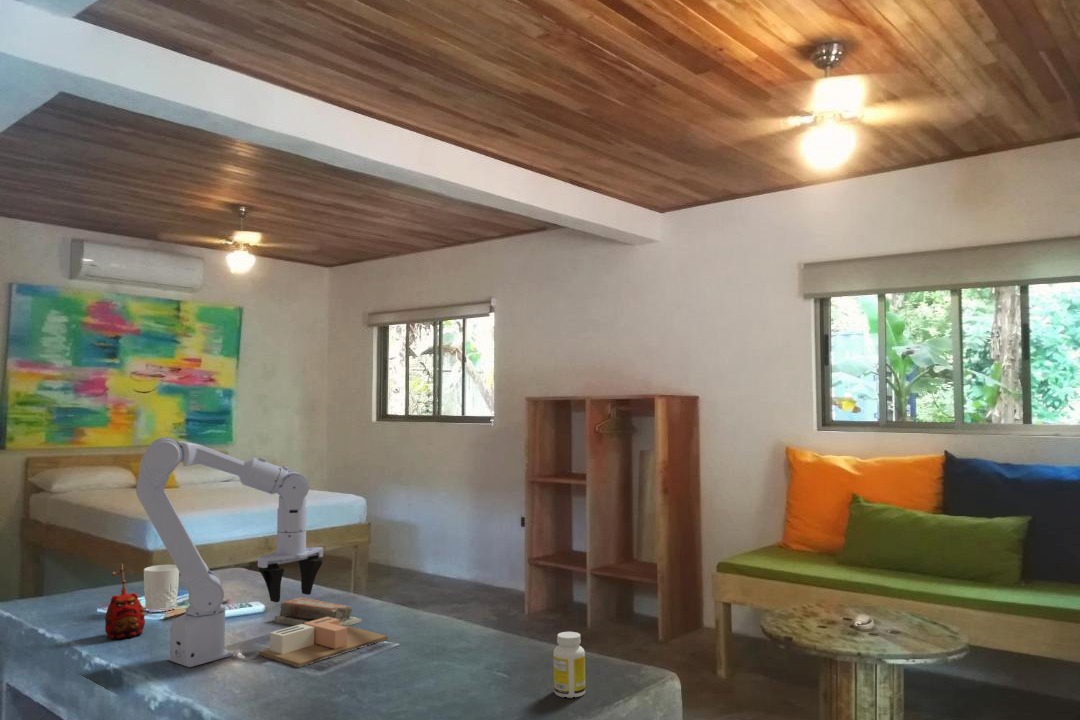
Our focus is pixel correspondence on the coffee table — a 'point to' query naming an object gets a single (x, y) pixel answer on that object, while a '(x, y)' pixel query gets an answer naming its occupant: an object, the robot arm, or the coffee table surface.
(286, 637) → the white toaster
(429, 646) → the coffee table surface
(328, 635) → the block
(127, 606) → the red clay folk toy
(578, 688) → the supplement bottle
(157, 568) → the white cup
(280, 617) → the packaged product
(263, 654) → the board
